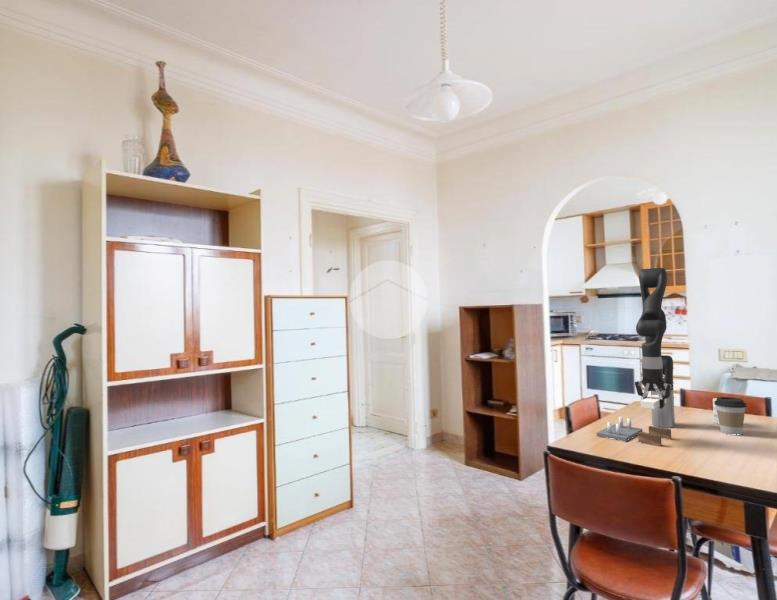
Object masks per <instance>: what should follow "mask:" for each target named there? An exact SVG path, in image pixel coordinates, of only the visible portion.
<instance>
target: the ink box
mask: <svg viewBox="0 0 777 600" xmlns="http://www.w3.org/2000/svg"><path fill="white" fill-rule="evenodd" d="M717 398H718V397H716V398H715V397H713V398H712V409H713V410H712V412H713V423H714V422H715V423H714V424H717V423H718V424H717V425H720V424H719V419H718V413H717V408H716V405H715V404H714V403H715V401H716V400H717Z"/></svg>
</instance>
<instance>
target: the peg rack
mask: <svg viewBox="0 0 777 600" xmlns="http://www.w3.org/2000/svg"><path fill="white" fill-rule="evenodd" d="M626 422H627V423H626V424H627V425H624V418H623V417H622V416H618V423H613V424H612V422H610V421H607V423H606V424H607V426H606V428H604V429H601V430H600V431H598V432H596V437H599V436H601V437H600V438H604V437H608V438H607V439H609V438H614V439H619V440H618V441H620V440H624V441H623V442H625V441H626V442H628V441H629V440H628V439H630V438H631V439H633V438H635V437H637V436H638V432H643V428H641V427H635V426H632V418H630V417H628V418H626ZM636 435H637V436H636ZM634 436H635V437H634ZM632 437H633V438H632ZM614 439H613V440H614ZM631 439H630V440H631ZM627 440H628V441H627Z"/></svg>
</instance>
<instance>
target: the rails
mask: <svg viewBox="0 0 777 600" xmlns="http://www.w3.org/2000/svg"><path fill="white" fill-rule="evenodd" d="M637 438H638V439H637V440H638V441H637V442H638V443H639V442H641V444H645V443H646V444H645V445H651V446H657V447H661V446H662V443H663V442H662V439H664V438H665V439H666V440H669V439H670V440H671V439H672V428H668V427H659V426H655V425H649V426H648V432H643V431H642V432H638V435H637ZM665 439H664V440H665Z"/></svg>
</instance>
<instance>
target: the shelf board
mask: <svg viewBox="0 0 777 600" xmlns="http://www.w3.org/2000/svg"><path fill="white" fill-rule="evenodd" d="M647 397H648V398H646V399H643V398H642V399H641V400H640V408H644V409H645V408H646V409H651V410H652V409H655V408H657V407H658V406H660V402H659V400H660V398H659V396H658V395H652V396H651V395H650V396H647ZM664 403H666V399H664Z"/></svg>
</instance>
